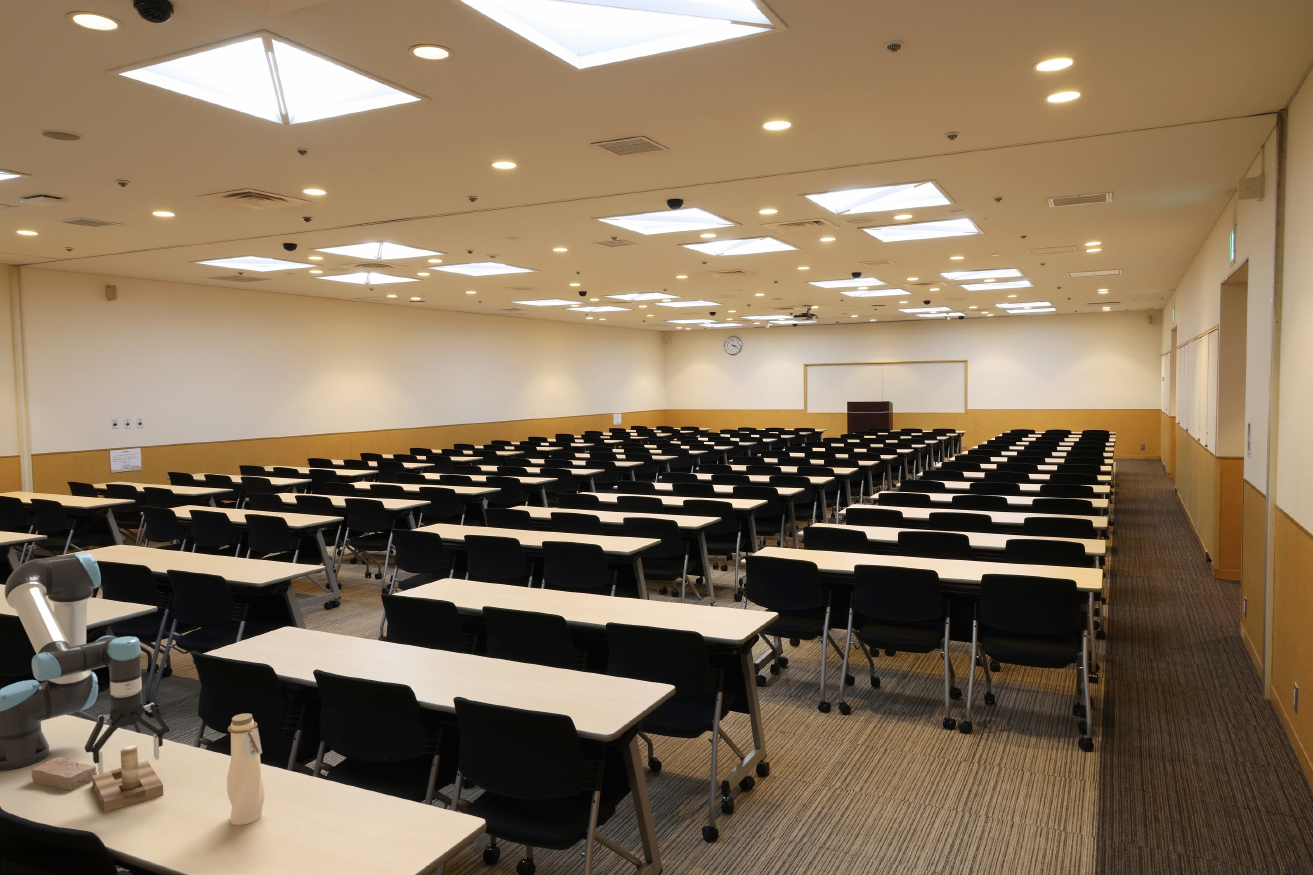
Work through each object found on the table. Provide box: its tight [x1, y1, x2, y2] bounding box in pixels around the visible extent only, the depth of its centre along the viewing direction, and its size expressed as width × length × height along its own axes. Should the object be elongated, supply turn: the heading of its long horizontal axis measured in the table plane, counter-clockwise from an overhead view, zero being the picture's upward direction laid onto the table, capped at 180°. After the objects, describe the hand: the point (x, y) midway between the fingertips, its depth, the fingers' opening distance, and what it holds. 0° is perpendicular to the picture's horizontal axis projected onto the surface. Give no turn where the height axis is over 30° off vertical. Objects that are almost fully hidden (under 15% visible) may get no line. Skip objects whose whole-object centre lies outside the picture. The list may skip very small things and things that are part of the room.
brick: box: [31, 756, 98, 791], centre depth 243 cm, size 16×8×5 cm, turn 72°
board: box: [92, 760, 164, 813], centre depth 237 cm, size 20×14×3 cm
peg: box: [120, 745, 139, 792], centre depth 233 cm, size 4×4×14 cm
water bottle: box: [226, 713, 265, 826], centre depth 221 cm, size 10×9×28 cm
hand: (129, 765), depth 233 cm, fingers open, 13 cm apart
